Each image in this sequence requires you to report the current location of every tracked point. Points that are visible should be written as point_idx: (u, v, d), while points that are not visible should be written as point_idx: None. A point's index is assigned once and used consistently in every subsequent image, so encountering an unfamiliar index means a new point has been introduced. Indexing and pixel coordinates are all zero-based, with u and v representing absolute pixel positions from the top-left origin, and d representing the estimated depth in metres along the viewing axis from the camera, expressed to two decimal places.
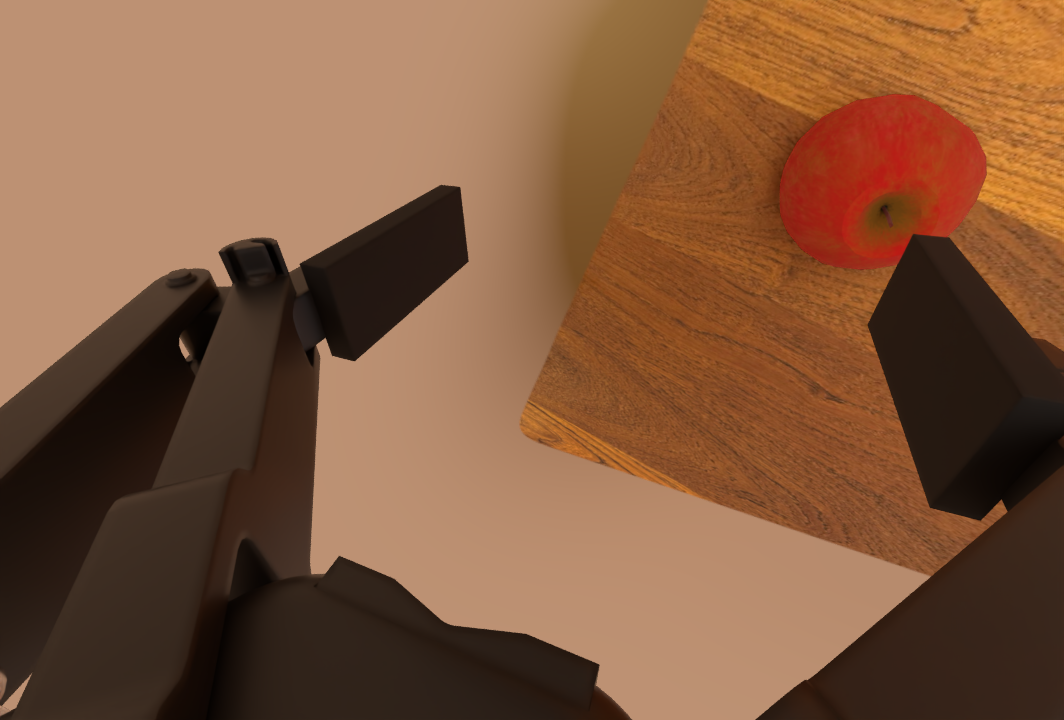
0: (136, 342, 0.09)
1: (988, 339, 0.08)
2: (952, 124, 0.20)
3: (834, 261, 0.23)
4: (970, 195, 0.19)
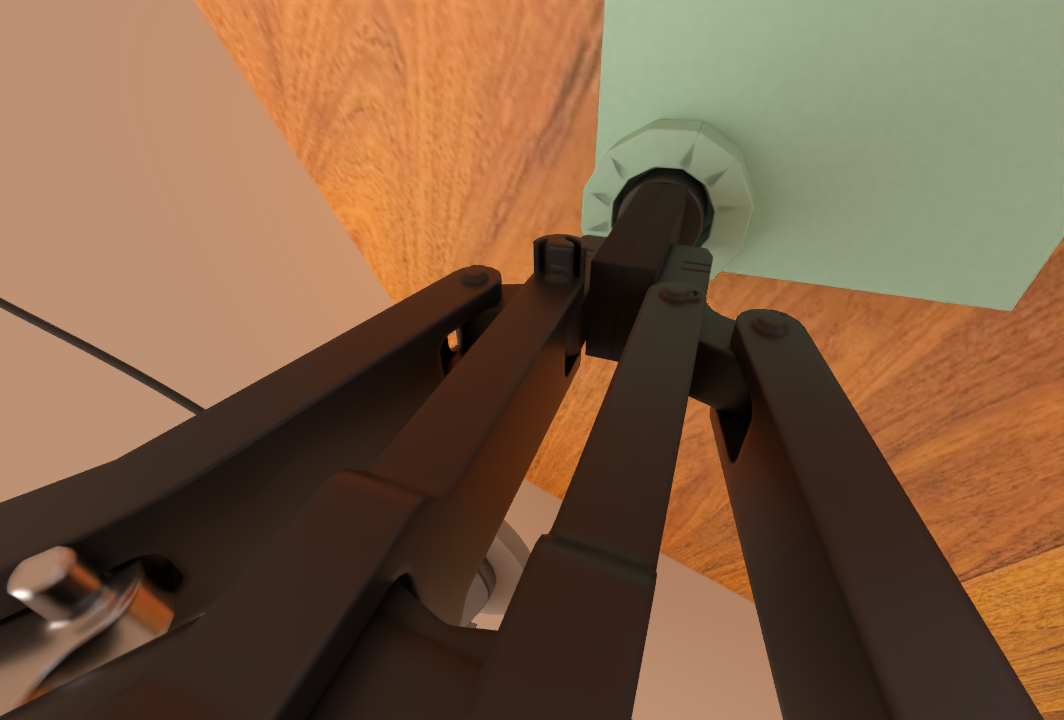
0: (404, 337, 0.09)
1: (639, 240, 0.12)
2: None
3: None
4: None
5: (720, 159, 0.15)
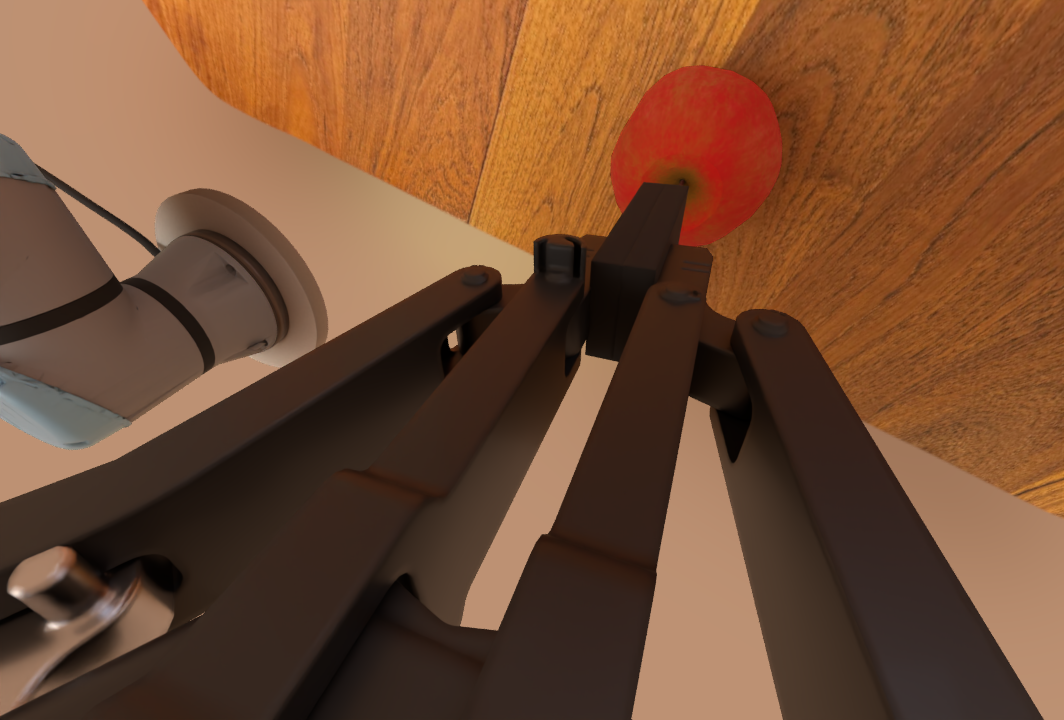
0: (404, 337, 0.09)
1: (639, 240, 0.12)
2: (624, 130, 0.22)
3: (740, 212, 0.21)
4: (674, 110, 0.19)
5: None
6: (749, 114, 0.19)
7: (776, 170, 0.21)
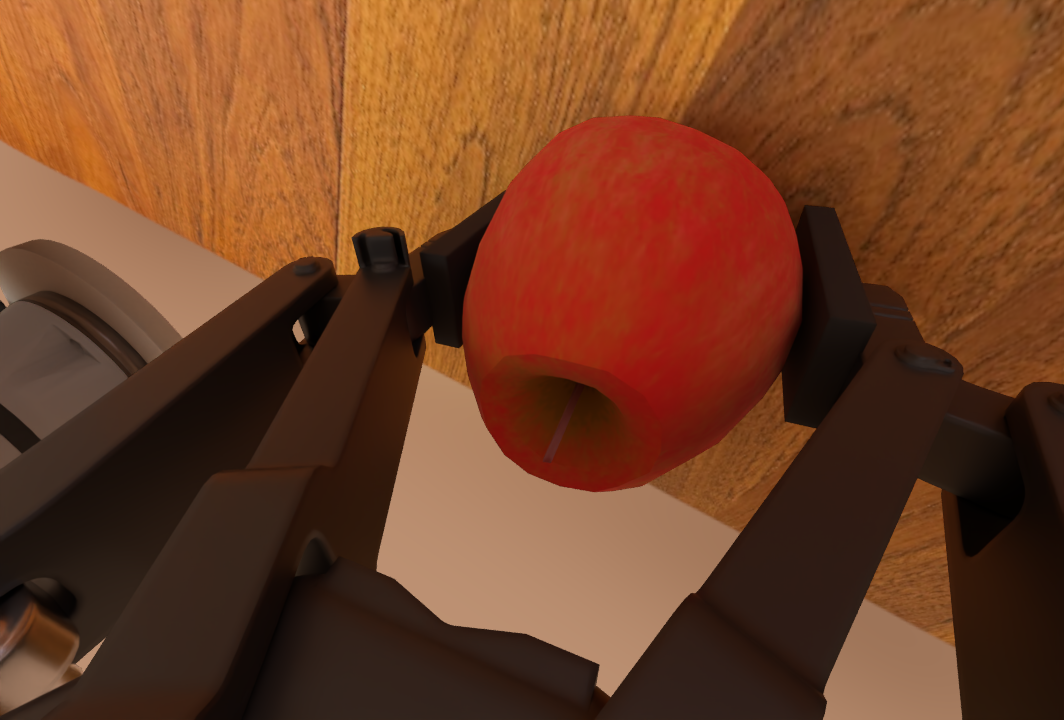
0: (253, 328, 0.09)
1: (825, 280, 0.10)
2: None
3: (713, 445, 0.09)
4: (548, 236, 0.08)
5: None
6: (728, 244, 0.08)
7: (792, 337, 0.10)
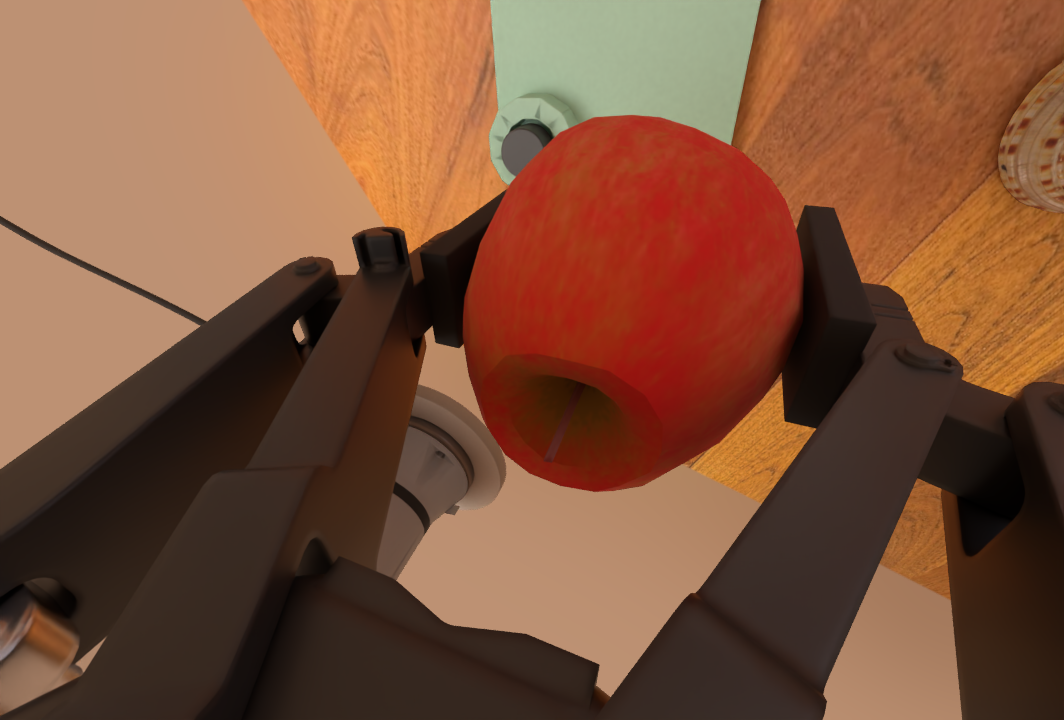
0: (253, 327, 0.09)
1: (825, 280, 0.10)
2: (479, 246, 0.11)
3: (713, 444, 0.09)
4: (549, 235, 0.08)
5: (553, 112, 0.28)
6: (729, 243, 0.08)
7: (793, 337, 0.10)
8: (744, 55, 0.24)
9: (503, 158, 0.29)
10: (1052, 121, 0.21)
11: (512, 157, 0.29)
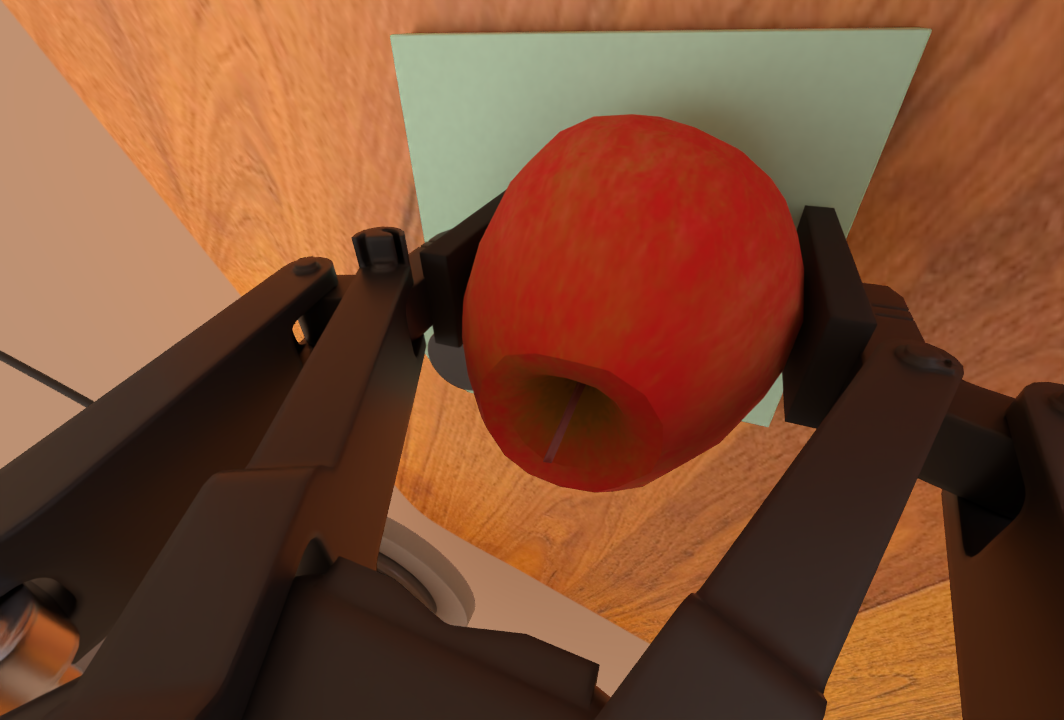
0: (253, 328, 0.09)
1: (825, 280, 0.10)
2: None
3: (714, 445, 0.09)
4: (549, 234, 0.08)
5: None
6: (729, 243, 0.08)
7: (793, 337, 0.10)
8: None
9: (431, 360, 0.19)
10: None
11: (444, 362, 0.18)
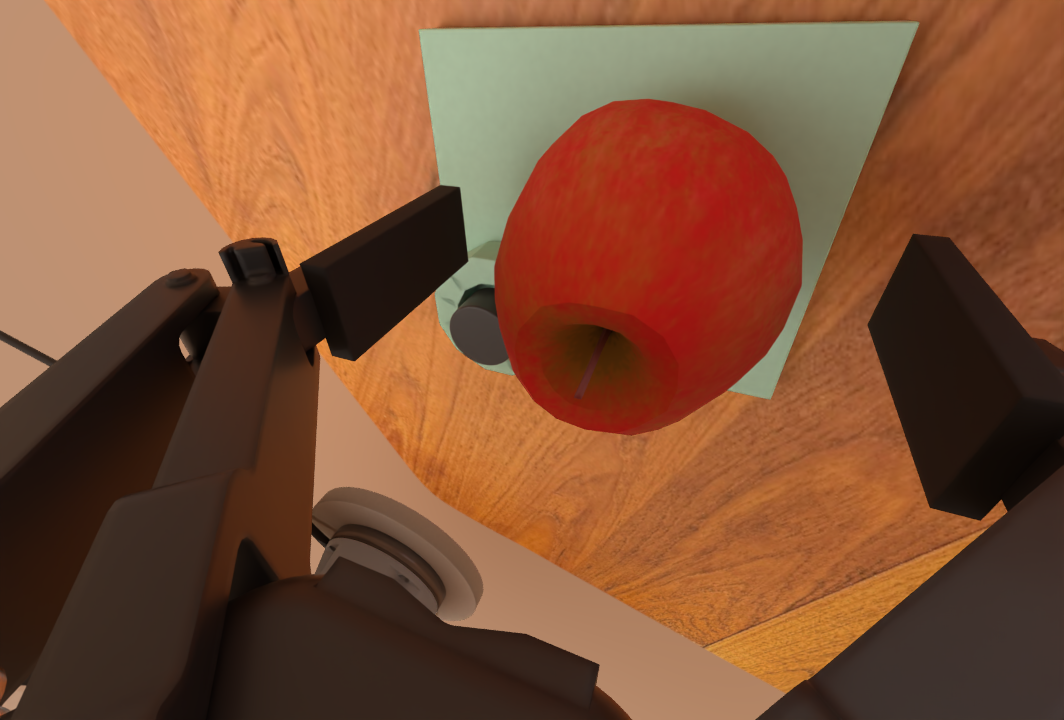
0: (136, 342, 0.09)
1: (988, 339, 0.08)
2: (509, 218, 0.12)
3: (721, 392, 0.10)
4: (578, 201, 0.09)
5: None
6: (736, 209, 0.09)
7: (792, 299, 0.11)
8: (828, 235, 0.15)
9: (453, 337, 0.20)
10: None
11: (465, 338, 0.20)
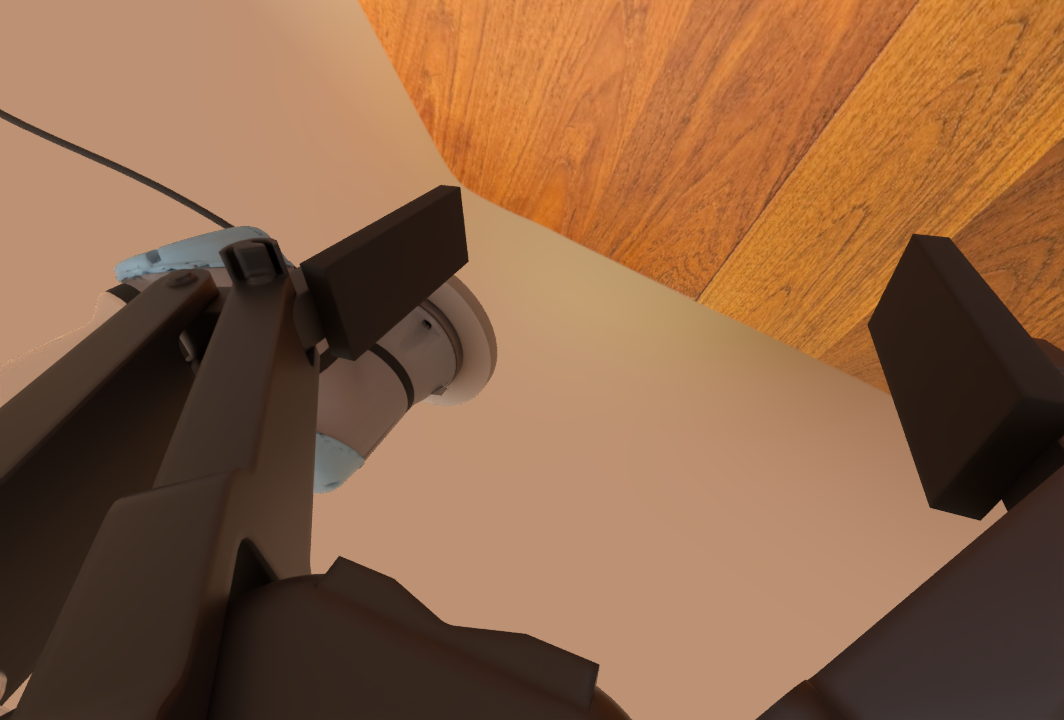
0: (136, 342, 0.09)
1: (988, 339, 0.08)
2: None
3: None
4: None
5: None
6: None
7: None
8: None
9: None
10: None
11: None
